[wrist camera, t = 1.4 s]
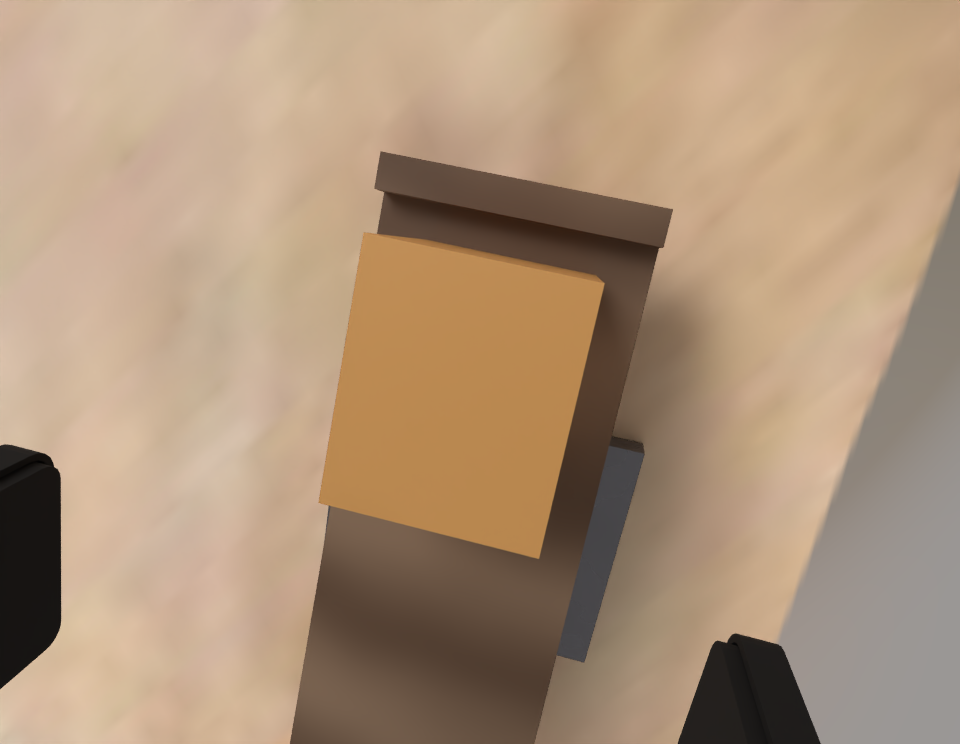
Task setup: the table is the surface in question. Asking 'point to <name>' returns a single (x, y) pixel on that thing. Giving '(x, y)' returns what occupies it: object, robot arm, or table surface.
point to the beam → (456, 562)
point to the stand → (599, 545)
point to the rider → (458, 390)
